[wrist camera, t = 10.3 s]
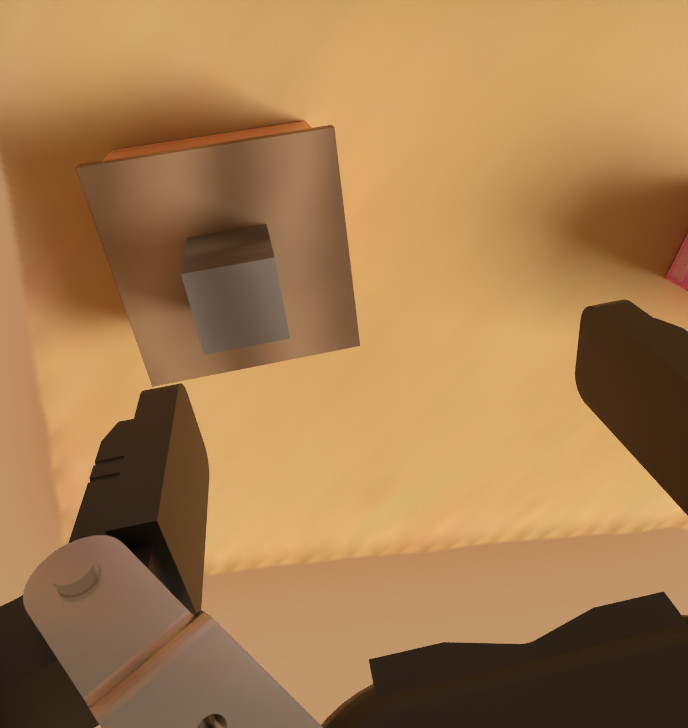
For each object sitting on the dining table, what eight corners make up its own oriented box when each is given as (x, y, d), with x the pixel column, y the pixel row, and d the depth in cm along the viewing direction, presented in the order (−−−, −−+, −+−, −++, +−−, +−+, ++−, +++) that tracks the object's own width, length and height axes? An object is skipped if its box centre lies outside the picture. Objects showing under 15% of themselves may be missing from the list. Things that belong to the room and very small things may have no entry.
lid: (331, 124, 28) (355, 145, 23) (357, 339, 34) (380, 391, 29) (79, 164, 27) (47, 195, 22) (153, 379, 33) (142, 440, 28)
